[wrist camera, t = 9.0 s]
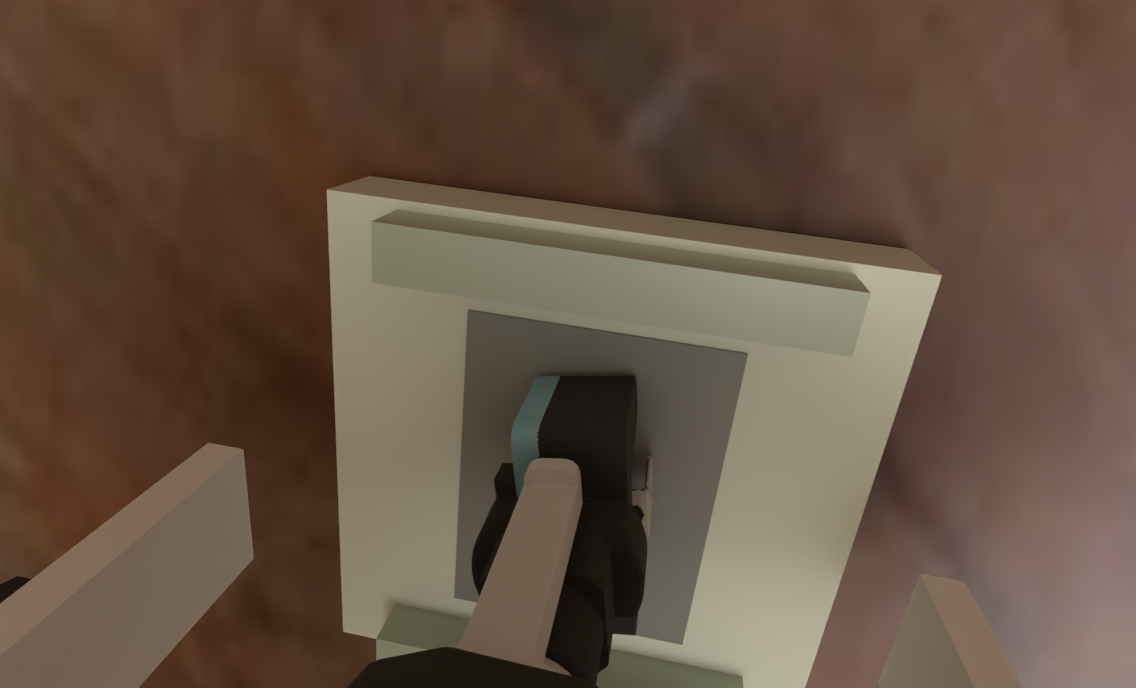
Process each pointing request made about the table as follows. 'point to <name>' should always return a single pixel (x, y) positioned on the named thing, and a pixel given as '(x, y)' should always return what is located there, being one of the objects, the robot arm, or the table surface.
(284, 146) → the table surface
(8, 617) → the robot arm
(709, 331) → the plate
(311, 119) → the table surface
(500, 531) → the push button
